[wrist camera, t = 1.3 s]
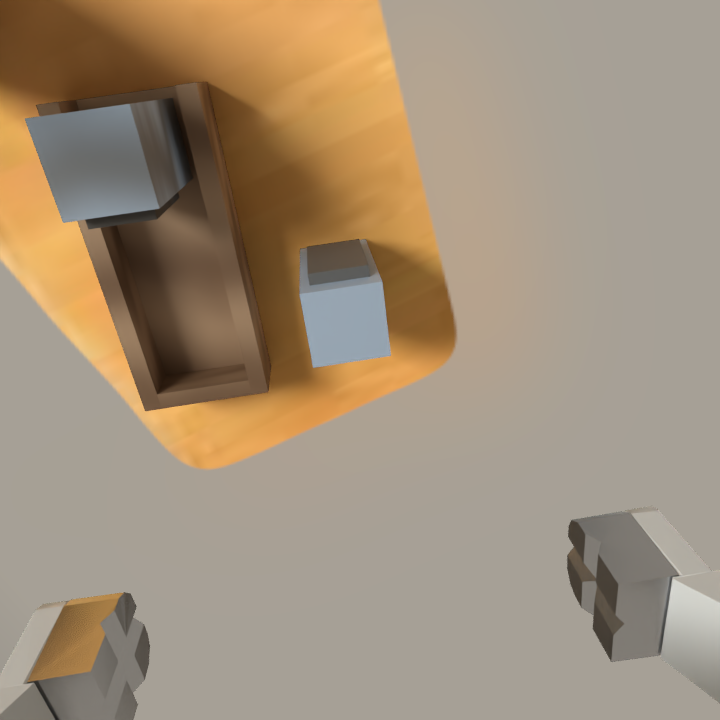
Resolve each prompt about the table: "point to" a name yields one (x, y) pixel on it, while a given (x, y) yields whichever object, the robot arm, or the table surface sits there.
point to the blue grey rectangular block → (343, 303)
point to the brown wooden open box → (160, 238)
